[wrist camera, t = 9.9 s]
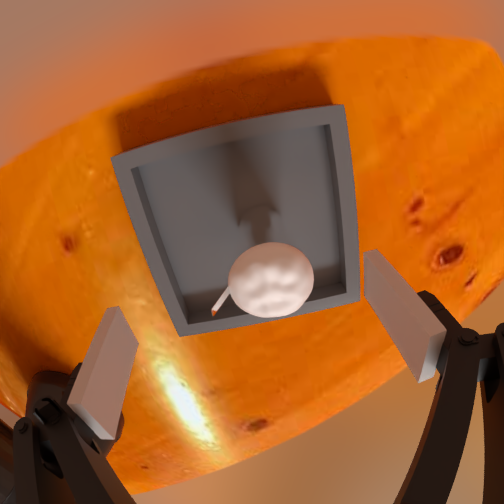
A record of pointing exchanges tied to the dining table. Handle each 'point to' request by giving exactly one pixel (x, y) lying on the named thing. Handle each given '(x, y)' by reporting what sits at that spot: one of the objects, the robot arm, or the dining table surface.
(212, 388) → the dining table surface
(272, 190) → the slate tray
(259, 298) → the milkshake
